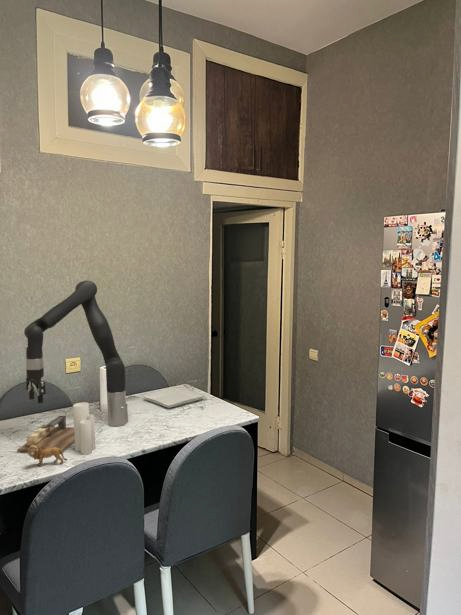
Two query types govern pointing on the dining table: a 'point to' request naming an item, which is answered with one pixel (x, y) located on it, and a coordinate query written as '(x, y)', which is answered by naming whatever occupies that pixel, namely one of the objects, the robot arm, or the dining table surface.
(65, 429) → the walnut board
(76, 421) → the white pillar candles
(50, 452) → the lion figurine
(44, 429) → the maple link
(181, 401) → the square plate
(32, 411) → the dining table surface
